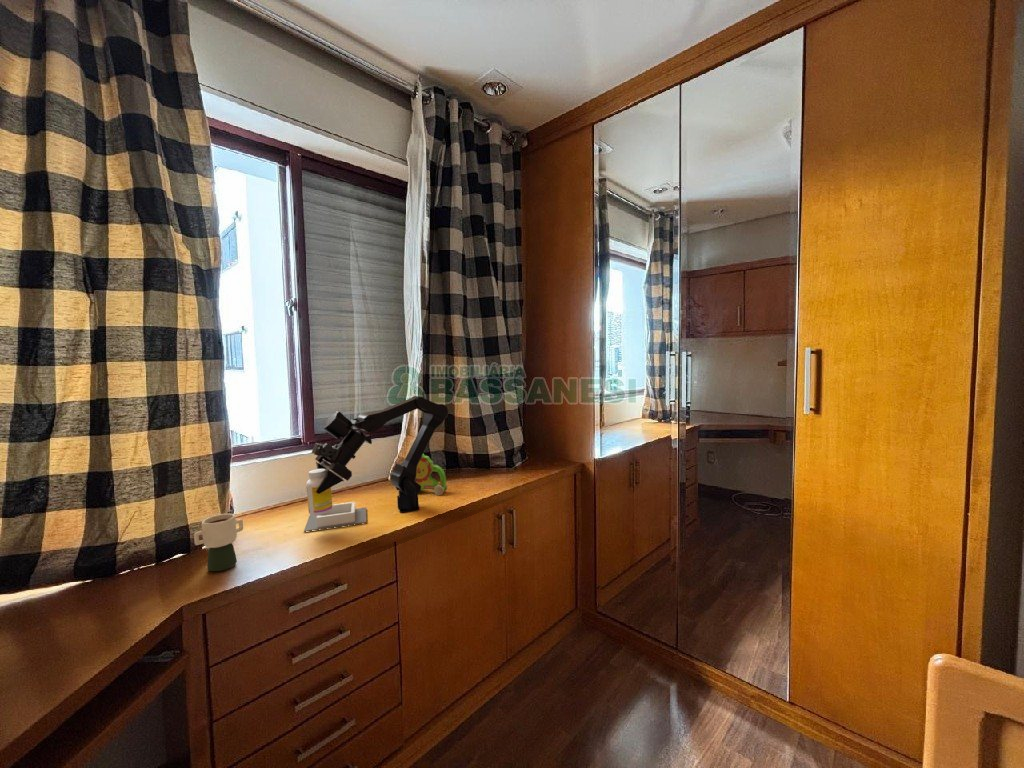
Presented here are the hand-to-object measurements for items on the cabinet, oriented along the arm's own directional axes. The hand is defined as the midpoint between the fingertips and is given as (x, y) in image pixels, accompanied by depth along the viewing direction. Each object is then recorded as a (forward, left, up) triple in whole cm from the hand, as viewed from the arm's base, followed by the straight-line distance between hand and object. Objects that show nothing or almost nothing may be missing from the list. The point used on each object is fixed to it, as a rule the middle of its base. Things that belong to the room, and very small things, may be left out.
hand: (314, 490), depth 127 cm
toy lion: (-36, -26, -14) cm, 46 cm away
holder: (-5, -10, -13) cm, 17 cm away
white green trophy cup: (+21, +13, -14) cm, 28 cm away
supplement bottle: (-1, 0, -7) cm, 7 cm away
